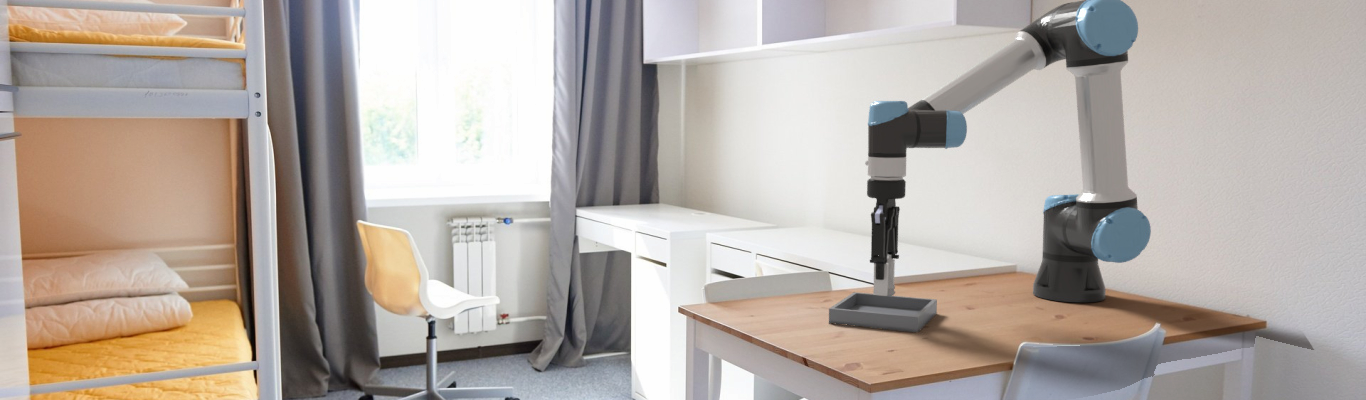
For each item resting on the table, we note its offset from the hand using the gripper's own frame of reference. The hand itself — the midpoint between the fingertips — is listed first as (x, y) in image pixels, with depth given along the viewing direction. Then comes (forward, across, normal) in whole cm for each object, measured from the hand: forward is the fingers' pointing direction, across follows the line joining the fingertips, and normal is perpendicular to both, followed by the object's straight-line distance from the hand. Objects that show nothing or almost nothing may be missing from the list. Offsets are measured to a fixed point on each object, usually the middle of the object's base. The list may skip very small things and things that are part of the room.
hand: (883, 292), depth 191 cm
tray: (+5, 0, 0) cm, 5 cm away
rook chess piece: (0, 0, 0) cm, 0 cm away
